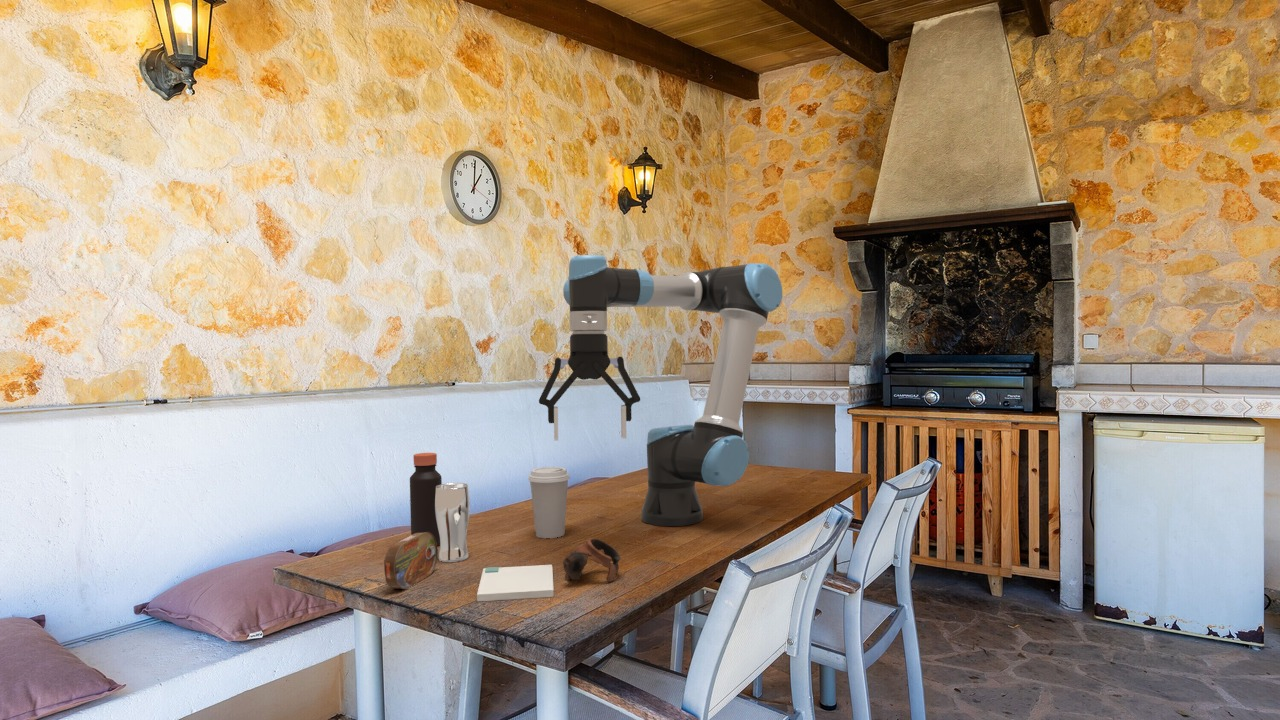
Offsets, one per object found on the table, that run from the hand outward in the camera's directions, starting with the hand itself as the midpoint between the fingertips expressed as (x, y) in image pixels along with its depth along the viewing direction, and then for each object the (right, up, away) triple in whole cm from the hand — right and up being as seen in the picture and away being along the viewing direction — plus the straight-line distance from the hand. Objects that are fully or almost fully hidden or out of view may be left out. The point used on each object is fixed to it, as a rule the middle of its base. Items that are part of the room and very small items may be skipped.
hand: (590, 438), depth 150 cm
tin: (-32, -26, -11) cm, 43 cm away
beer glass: (-28, -25, +4) cm, 38 cm away
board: (-12, -25, -14) cm, 31 cm away
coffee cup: (-11, -25, +21) cm, 34 cm away
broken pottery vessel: (0, -25, -11) cm, 28 cm away
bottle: (-37, -25, +15) cm, 47 cm away
